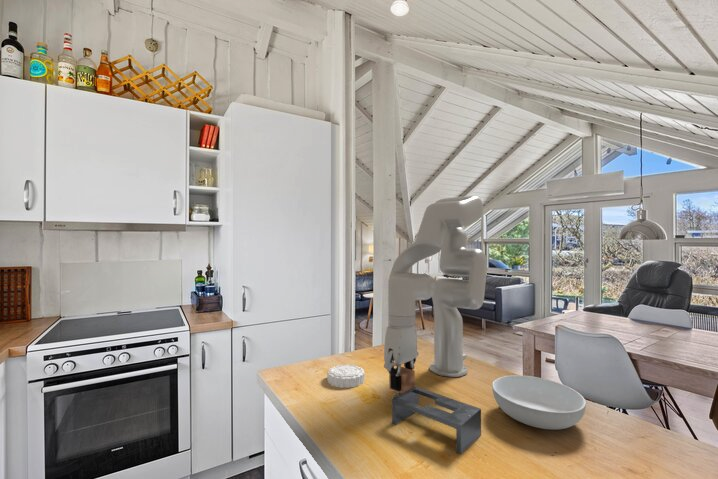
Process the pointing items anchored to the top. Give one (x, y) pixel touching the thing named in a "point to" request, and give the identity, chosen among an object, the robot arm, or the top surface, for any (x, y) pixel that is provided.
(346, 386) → the mooncake
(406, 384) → the keyhole peg
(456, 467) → the top surface
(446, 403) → the keyhole bracket
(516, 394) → the serving bowl
